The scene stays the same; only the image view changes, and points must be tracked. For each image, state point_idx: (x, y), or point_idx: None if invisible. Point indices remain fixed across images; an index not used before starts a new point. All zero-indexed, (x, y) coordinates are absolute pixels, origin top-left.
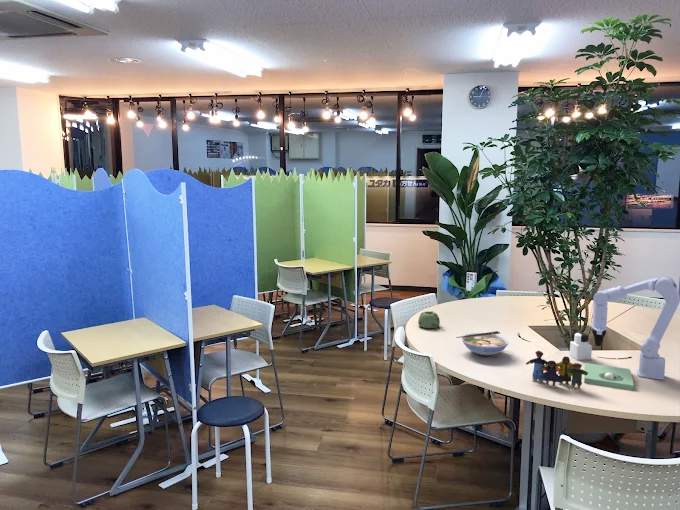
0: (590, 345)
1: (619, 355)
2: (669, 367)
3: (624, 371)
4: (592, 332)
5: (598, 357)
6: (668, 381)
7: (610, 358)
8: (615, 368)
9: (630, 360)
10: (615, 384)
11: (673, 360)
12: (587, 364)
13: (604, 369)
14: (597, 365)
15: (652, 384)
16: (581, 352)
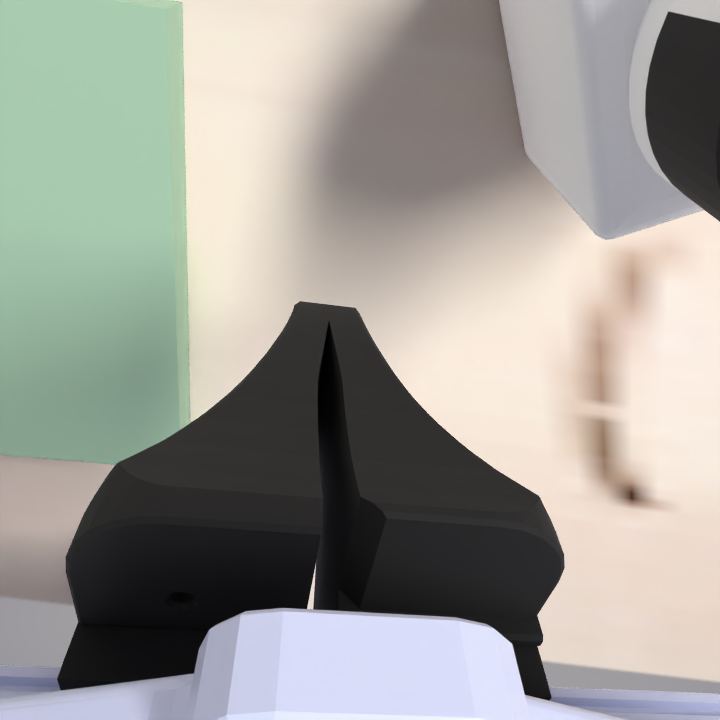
0: (608, 217)
1: (683, 442)
2: None
3: (70, 421)
4: (127, 478)
5: (625, 257)
6: None
7: (593, 363)
8: (123, 363)
9: (547, 489)
10: None
11: (570, 661)
12: (97, 41)
13: (7, 248)
14: (126, 188)
15: (3, 521)
16: (531, 10)
